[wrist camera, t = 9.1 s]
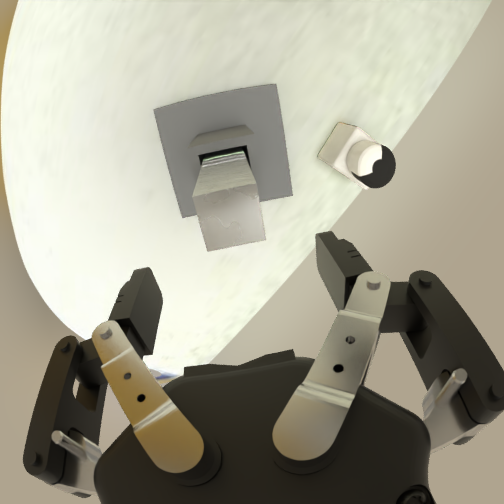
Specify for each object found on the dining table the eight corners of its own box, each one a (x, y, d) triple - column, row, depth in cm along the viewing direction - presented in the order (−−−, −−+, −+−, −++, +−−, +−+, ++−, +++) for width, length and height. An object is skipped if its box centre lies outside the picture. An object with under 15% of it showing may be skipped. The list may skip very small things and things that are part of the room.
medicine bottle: (369, 144, 41) (410, 161, 31) (348, 178, 44) (383, 203, 34) (338, 121, 39) (375, 130, 29) (316, 156, 42) (346, 176, 32)
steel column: (206, 148, 32) (191, 196, 16) (239, 141, 32) (257, 182, 16) (213, 178, 34) (207, 252, 19) (245, 172, 34) (266, 240, 19)
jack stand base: (155, 109, 36) (124, 113, 23) (274, 84, 36) (299, 76, 23) (183, 214, 45) (169, 261, 32) (290, 192, 45) (317, 231, 32)
